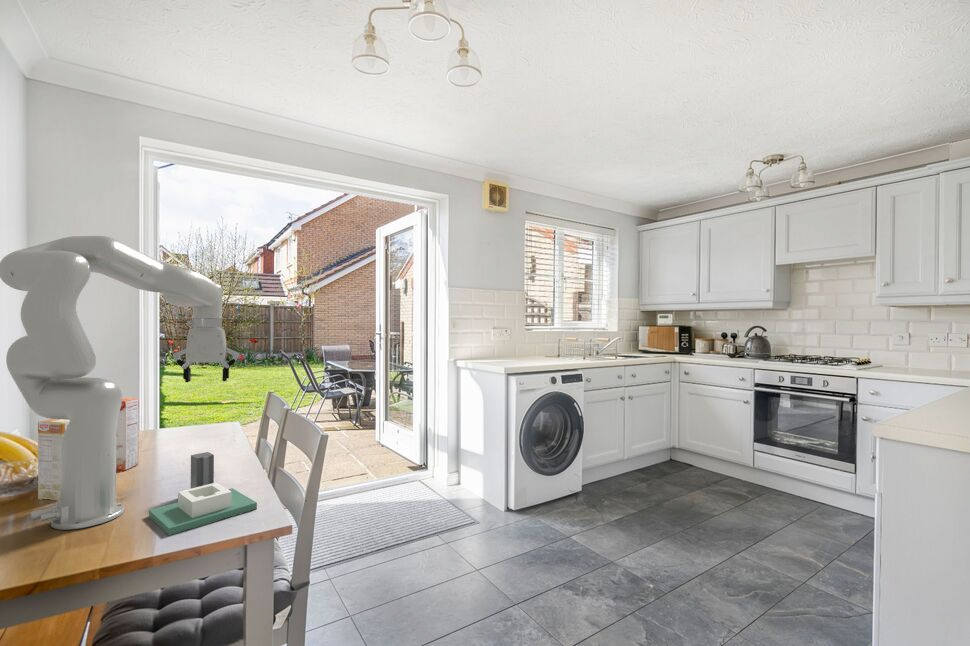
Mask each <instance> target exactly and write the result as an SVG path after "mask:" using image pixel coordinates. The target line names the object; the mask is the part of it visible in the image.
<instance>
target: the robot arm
mask: <svg viewBox="0 0 970 646" xmlns="http://www.w3.org/2000/svg"><path fill="white" fill-rule="evenodd" d="M91 273H95V274H100V275H104V276H106V277H109V278H111V279H114V280H116V281H118V282H120V283H123V284H125V285H127V286H129V287H132V288H134V289H138V290H142V291H146V292H151V293H161V294H162V296H163V298H164V300H165V302H167V303H168V304H169V305H171V306H174V307H180V308H182V307H183V308H191V307H192V319H190V320H187V321H186V325H187V326H191V327H192V328H189V330H188V334H187V339H186V346H185V347H186V348H183V349H181V350H178V351H176V352H175V353H173V354H172V357H173V358H174V360H175V362H176V364H177V365H179V366H180V367H181V368H182V369H183V377H182V379H183V380H185V383H189V382H191V380H192V378H191V377H192V375H191V374H192V369H191V367H190V366H191V365H192V364H193V363H198V364H199V363H200V364H201V363H203V364H204V363H220V364H221V365H222V366H223V368H222V377H221V378H222V379H221V380H222V382H227V380H228V379H229V378H230V367H232V365H233V364H235V363H236V362H237V360H238V359H239V356H240V354H241V353H239V352H237V351H235V350H233V349H231V348H228V347H227V338H226V337H227V336H226V332H225V329H224V328H223V326H222V325H223V287H222V286H221V285H220V284H217V283H215V282H214V281H213V280H211V279H210V278H208V277H207V276H205V275H202V274H201V273H199V272H196V271H194V270H191V269H187V268H183V267H181V266H177V265H174V264H171V263H168V262H165V261H161V260H157V259H155V258H153V257H151V256H149V255H147V254H145V253H143V252H141V251H139V250H137V249H135V248H133V247H131V246H130V245H127V244H125V243H124V242H122V241H119V240H118V239H115V238H113V237H110V236H105V235H76V236H75V235H73V236H67V237H62V238H58V239H55V240H51V241H47V242H44V243H39V244H36V245H32V246H29V247H26V248H22V249H18V250H14V251H12V252H9V254H6V255H5V256H4V257H3V258H2V259H1V260H0V279H1V281H2V282H3V283H4V284H5V285H7V286H8V287H10V288H12V289H14V290H18V291H21V292H27V293H26V295H25V296H24V299H23V301H22V304H21V307H20V320H21V323H22V326H23V328H24V330H25V332H26V335H25V336H22V337H19V338H18V339H16V340H15V341H13V342H12V344H11V345H10V346H9V347H8V349H7V352H6V355H5V356H6V357H5V359H6V367H7V370H8V372H9V374H10V376H11V378H12V379H13V382H14V383H15V385H16V386H17V388H18V390H19V391H20V394H21V395H22V397H23V398H24V400H25V402H26V404H27V405H28V407H29V408H30V409H31V411H33V412H34V413H35V414H36V415H37V416H40V417H42V418H46V419H66V420H70V422H69V425H68V427H67V428H66V430H65V432H64V434H63V437H62V440H61V500H56V504H54V505H51V506H50V507H49V508H45V509H39V510H33V511H31V512H30V522H33V521H38V520H40V522H44V521H49V520H50V526H51V527H52V528H53V529H55V530H63V531H65V530H79V529H85V528H89V527H93V526H96V525H100V524H104V523H106V522H109V521H112V520H114V519H116V518H118V517H119V516H121V515H122V514H123V513H124V512H125V505H124V503H122V502H118V501H117V471H116V430H117V421H118V416H119V412H120V408H121V404H122V398H123V393H122V391H121V388H120V386H118V385H117V384H116V383H115V382H113V381H111V380H110V379H109V380H108V379H106V378H103V377H102V378H101V377H90V376H89V377H88V376H87V375H88V374H90V373H92V372H93V371H94V369H95V367H96V364H97V358H96V355H95V351H94V349H93V347H92V345H91V343H90V340H89V339H88V336H87V333H86V332H85V330H84V328H83V326H82V325H83V324H81V322H80V321H81V320H80V318H79V316H78V313H77V312H78V311H77V302H78V299H79V296H80V295H81V293H82V291H83V289H84V288H85V287H86V285H87V283H88V282H89V280H90V277H91ZM222 328H223V329H222ZM183 355H185V361H184V360H183V359H182V358H181V356H183ZM227 355H231V356H232V357H231V359H230V360H229V361H228V360H227ZM86 376H87V377H86Z"/></svg>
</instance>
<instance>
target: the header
mask: <svg viewBox="0 0 970 646" xmlns="http://www.w3.org/2000/svg"><path fill="white" fill-rule="evenodd" d="M228 489H229V488H227V487H225V486H223V485H222V484H220V483H218V482H214V483H212V484H208V485H204V486H200V487H196V488H192V489H191V488H189V489H187V488H186V489H185V490H180V491H177V502H178V507H179V508H180V509H181V510H183V511H184V512H185V513H186V514H188V515H189V516H190V517H191V518H194V517H197V516H201V515H204V514H208V513H211V512H215V511H218V510H222V509H225V508H229V507H232V492H231V491H230V490H228Z"/></svg>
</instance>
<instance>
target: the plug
mask: <svg viewBox="0 0 970 646" xmlns="http://www.w3.org/2000/svg"><path fill="white" fill-rule="evenodd" d="M214 466H215V455H214V454H213V453H211V452H209V451H206V452H200V453H196V454H191V455H190V489H192V488H196V487H200V486H204V485H208V484H212V483H215V481H214V478H215V472H214V471H215V470H214V469H215V467H214Z"/></svg>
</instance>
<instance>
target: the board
mask: <svg viewBox="0 0 970 646" xmlns="http://www.w3.org/2000/svg"><path fill="white" fill-rule="evenodd" d="M227 489H228V490H230V491H231V492H232V507H229V508H225V509H222V510H218V511H215V512H211V513H208V514H204V515H201V516H197V517H194V518H191V517H190V516H189V515H188V514H186V513H185V512H184V511H183V510H181V509H180V508H179V507H178V501H177V502H174V503H170V504H167V505H163V506H159V507H155V508H150V509H148V517H149V518H150V520H152V521H153V522H154V523H155V524H156V523H157V524H156V525H157V526H158V525H159V528H161V529H162V530H163V531H164V532H165V533H166V534H167V535H168V536H172V534H173V535H176V534H178V533H182V532H184V531H185V530H186V531H188V530H187V529H189V530H191V528H192V529H195V528H194V527H196V528H198V527H202V526H205V525H210V524H213V523H214V522H218V520H219V521H221V519H222V520H224V519H223V518H225V519H228V518H227V517H229V518H231V517H230V516H232V517H234V515H235V516H238V515H241V514H240V513H242V514H244V512H245V513H247V511H248V512H251V510H252V511H255V510H257V509H258V502H256V501H255V500H253V499H251V498H250V497H248V496H247V495H245V494H243V493H241V492H240V491H238V490H236V489H234V488H233V487H231V488H227ZM254 509H255V510H254ZM237 514H238V515H237ZM181 531H182V532H181ZM186 531H185V532H186Z"/></svg>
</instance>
